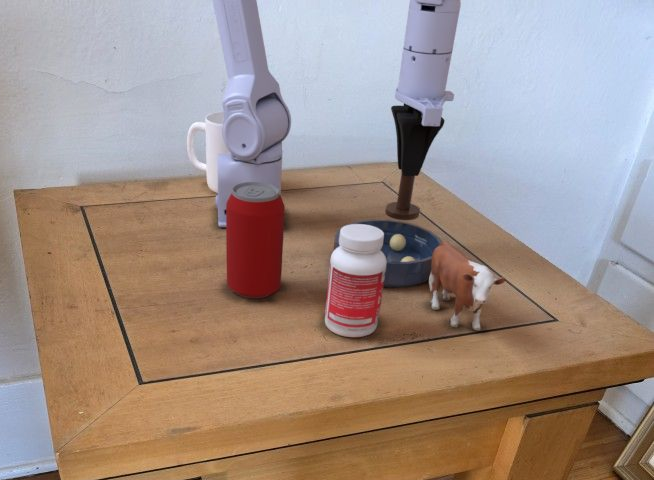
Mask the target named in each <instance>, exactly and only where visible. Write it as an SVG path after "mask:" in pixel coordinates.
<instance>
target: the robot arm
mask: <svg viewBox="0 0 654 480" xmlns="http://www.w3.org/2000/svg"><path fill="white" fill-rule="evenodd" d="M212 5H213V9H214V15H215V20H216V24H217V30H218V34H219V35H218V36H219V39H220V45H221V49H222V54H223V59H224V65H225V69H226V73H227V78H228V82H227V85H226V87H225V90H224V93H223V96H222V100H221V104H222V111H224V121H223V127H222V134H223V140H224V142H225V145H226V147H227V148H228V150H229V151H230V152H231V153H227V154H218V193H217V194H216V195H215V210H217V217H218V219H217V222H218V227H219V228H226V203H227V201H228V199H229V197H230V195H231V193H232V189H233V187H234V186H235V185H237V184H240V183H244V182H263V183H268V184H271V185H274V186H276V187H277V188H278V189H279V194H280V196H281V197H282V195H281V193H282V173H283V172H282V171H283V141H284V140H285V139H287V137H288V135H289V134H290V132H291V129H292V128H291V127H292V115H291V112H290V109H289V107H288V105H287V104H286V102H285V101H284V99H283V96H282V93H281V88H280V84H279V82H278V81H277V79H276V77H274V76H273V74H272V73H271V72H270V70H269V65H268V60H267V53H266V48H265V44H264V43H265V42H264V36H263V30H262V24H261V19H260V13H259V6H258V1H257V0H212ZM461 5H462V2H461V0H409V5H408V11H407V17H406V18H407V19H406V26H405V32H404V33H405V34H404V41H403V47H402V54H401V62H400V69H399V70H400V71H399V75H398V83H397V87H396V89H395V93H394V99H396V100H397V101H398V102H400V103H402V104H403V105H392V106H391V107H390V111H391V114H392V117H393V120H394V126H395V133H396V154H397V155H396V156H397V167H398V170H400V171H401V173H402V175H403V176H415V177H418V176H419V175H420V173H421V171H422V168H423V165H424V163H425V160H426V157H427V155H428V152H429V150H430V147H431V146H432V144H433V142H434V140H435V138H436V137H437V135H438V134H439V132H440V131H441V130H442V129H443V127H444V125H445V122H446V121H445V118H443V117H442V116H443V110H444V108H443V107H444V104H445V103H446V102H453V101H454V99H455V94H454V93H453V91H450V90H446V88H447V84H448V77H449V73H450V72H449V71H450V66H451V61H452V55H453V50H454V44H455V39H456V34H457V27H458V23H459V17H460V11H461Z"/></svg>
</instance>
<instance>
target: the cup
mask: <svg viewBox="0 0 654 480" xmlns="http://www.w3.org/2000/svg"><path fill="white" fill-rule="evenodd" d="M204 118H205V119H204V121H203V122H202V121H196V122H194V123H192V124H191V125H190V126H189V128H188V131H187V138H186V150H187V156H188V159H189V162H190V163H191V164H192V166H193V167H194V168H195V169H196V170H198V171H201V172H204V173H206V183H207V186H208V188H209V190H210V191H212V192H214V193H216V194H218V154H227V153H231V152H230V151H229V150H228V148H227V147H226V145H225V142H224V140H223V134H222V127H223V121H224V110H222V111H214V112H211V113H207V115H205V117H204ZM197 131H200V132H203V133H205V162H201V161H200V160H199V159H198V158H197V156H196V154H195V146H194V143H195V135H196V133H197Z"/></svg>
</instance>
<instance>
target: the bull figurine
mask: <svg viewBox="0 0 654 480" xmlns="http://www.w3.org/2000/svg"><path fill="white" fill-rule="evenodd" d="M431 269H432V270H431V273H430V277H429V280H428V285H429V291H430V292H431V293H432V299H431V300H430V304H431V309H432V310H434V311H438V310H440V309H441V307H440V301H439V290H440V288H441V287H440V286H442V288H443V290H442V292H441V293H442V294H441V295H442V300H444V301H446V302H447V301H450V300H451V298H454V297H455V303H454V313H453V315H452V317H450V327H451V328H458V327H459V318H460V317H459V316H460V315H461V313H462V312H463V307H465V308H466V310H467V311H468V312H472V313H473V320H472V322H471V324H472V326H471V327H472V328H471V329H472V330H473V331H477V332H478V331H481V330H482V327H481V323H480V316H481V313H482V305H485V304H487V301H488V296H489V294H490V292H491V290H492V287H493V285H496V286H497V285H498V286H499V285H503V284H504V283H505V282H506V281H507V280H506V278H505V277H503V276H501V277H494V274H493V273H492V272H491V271H490V269H489V267H487V266H486V265H483V264H480V263H477V262H475V261H473V260H472V259H471V258H469V257H468V256H467V255H466V254H465V253H464V252H463V251H461V250H460V249H458V248H457V247H456V246H454V245H452V244H450V243H449V242H448V241H442V243H441V244H440V245H439V246H438V247H437V248H435V250H434V252H433V255H432V263H431Z"/></svg>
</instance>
